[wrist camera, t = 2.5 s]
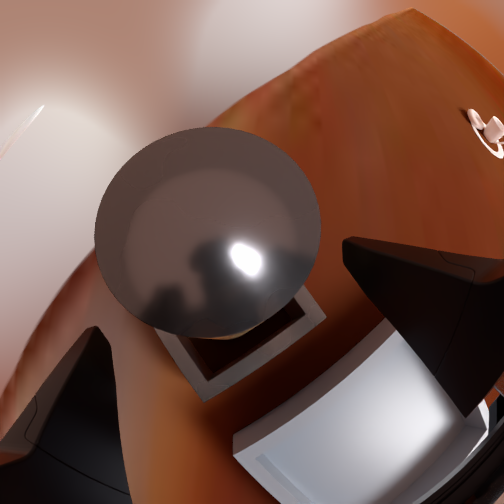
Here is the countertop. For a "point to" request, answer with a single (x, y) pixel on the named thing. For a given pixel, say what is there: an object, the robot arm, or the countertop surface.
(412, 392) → the tray
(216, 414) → the countertop surface
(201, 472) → the countertop surface
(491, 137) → the teacup and saucer
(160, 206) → the capped labeled canister
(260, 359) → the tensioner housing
